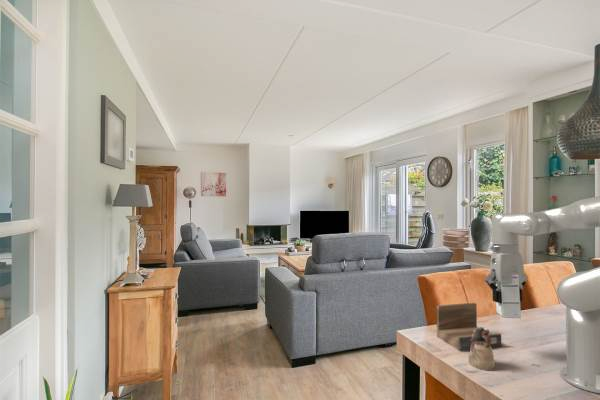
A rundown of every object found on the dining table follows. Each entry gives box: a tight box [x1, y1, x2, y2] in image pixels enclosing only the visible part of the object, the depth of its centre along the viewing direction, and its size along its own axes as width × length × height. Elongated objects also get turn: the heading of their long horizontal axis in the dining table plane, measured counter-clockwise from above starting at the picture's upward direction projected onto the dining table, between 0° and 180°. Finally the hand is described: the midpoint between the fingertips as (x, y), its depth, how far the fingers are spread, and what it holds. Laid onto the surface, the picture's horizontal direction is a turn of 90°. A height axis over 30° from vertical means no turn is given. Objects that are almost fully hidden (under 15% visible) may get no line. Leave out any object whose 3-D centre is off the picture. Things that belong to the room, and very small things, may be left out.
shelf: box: [436, 302, 502, 352], centre depth 119 cm, size 13×17×12 cm
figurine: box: [468, 326, 496, 371], centre depth 101 cm, size 7×7×12 cm
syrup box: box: [495, 274, 522, 319], centre depth 108 cm, size 6×6×14 cm
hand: (507, 300), depth 108 cm, fingers closed on syrup box, 7 cm apart
